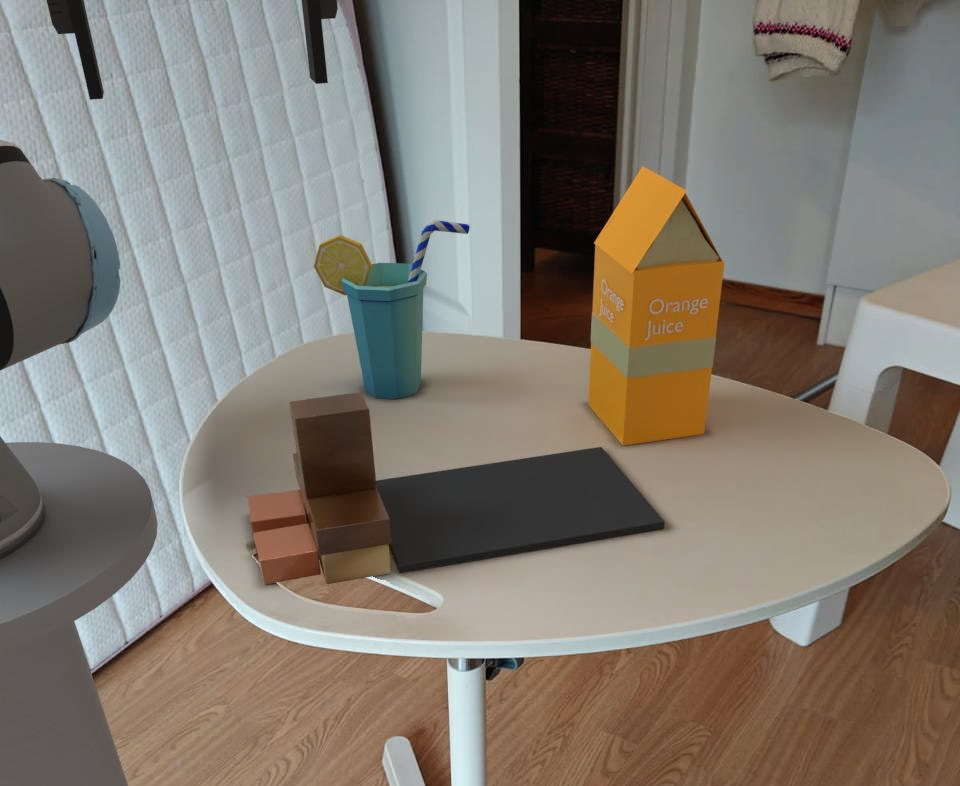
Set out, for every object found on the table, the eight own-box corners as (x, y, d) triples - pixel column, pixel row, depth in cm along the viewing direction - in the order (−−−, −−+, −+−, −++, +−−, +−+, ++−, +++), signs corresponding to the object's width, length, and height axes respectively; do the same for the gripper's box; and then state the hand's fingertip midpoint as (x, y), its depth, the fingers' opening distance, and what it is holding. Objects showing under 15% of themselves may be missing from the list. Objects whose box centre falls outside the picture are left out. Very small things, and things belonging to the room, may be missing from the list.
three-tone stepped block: (323, 587, 70) (304, 447, 63) (300, 505, 79) (281, 376, 73) (394, 574, 71) (382, 436, 64) (363, 495, 80) (349, 368, 74)
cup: (466, 364, 101) (461, 206, 92) (481, 395, 95) (477, 229, 86) (326, 378, 99) (307, 218, 90) (332, 411, 93) (312, 242, 84)
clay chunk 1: (254, 545, 74) (250, 521, 73) (251, 519, 78) (247, 496, 76) (309, 537, 75) (305, 514, 74) (303, 512, 78) (300, 488, 77)
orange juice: (665, 394, 94) (686, 161, 82) (706, 434, 87) (735, 186, 75) (585, 405, 93) (595, 169, 81) (620, 446, 86) (637, 195, 74)
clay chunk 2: (264, 585, 70) (259, 560, 69) (257, 556, 73) (252, 532, 72) (321, 574, 71) (317, 550, 70) (311, 546, 74) (308, 522, 73)
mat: (399, 573, 71) (398, 566, 71) (366, 488, 81) (365, 481, 81) (664, 528, 75) (664, 521, 75) (601, 452, 85) (601, 446, 85)
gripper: (-158, -418, 45) (-9, 113, 58) (392, -404, 50) (418, 82, 63) (-125, -383, 51) (4, 92, 64) (365, -373, 56) (394, 66, 69)
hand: (210, 88), depth 63 cm, fingers open, 13 cm apart
